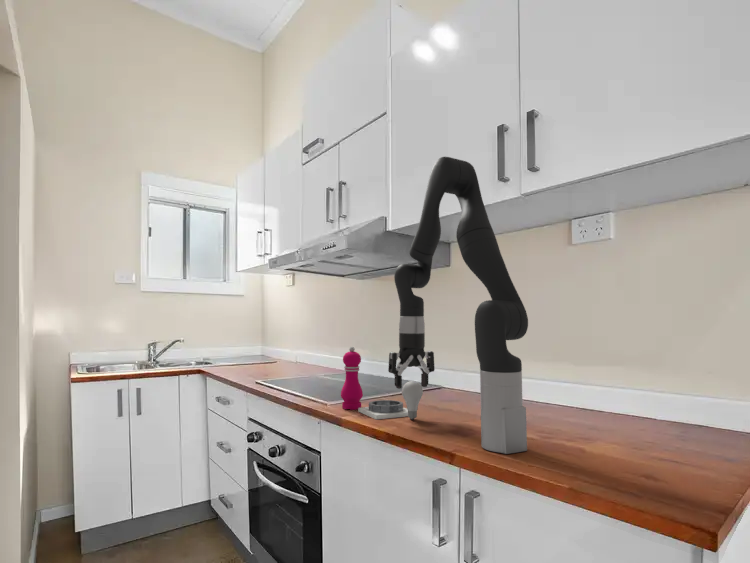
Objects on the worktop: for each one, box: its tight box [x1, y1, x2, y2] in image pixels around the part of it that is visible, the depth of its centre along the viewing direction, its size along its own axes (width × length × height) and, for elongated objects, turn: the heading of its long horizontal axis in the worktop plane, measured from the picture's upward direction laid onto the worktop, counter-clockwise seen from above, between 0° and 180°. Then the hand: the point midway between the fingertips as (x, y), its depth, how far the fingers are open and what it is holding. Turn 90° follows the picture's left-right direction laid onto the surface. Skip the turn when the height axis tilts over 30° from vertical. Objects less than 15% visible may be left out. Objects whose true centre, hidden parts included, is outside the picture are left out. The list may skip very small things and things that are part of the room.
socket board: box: [357, 406, 408, 420], centre depth 143 cm, size 13×13×1 cm
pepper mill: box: [340, 346, 364, 411], centre depth 153 cm, size 7×7×20 cm
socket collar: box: [368, 399, 404, 413], centre depth 143 cm, size 10×10×2 cm
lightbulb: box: [401, 380, 424, 420], centre depth 135 cm, size 6×6×11 cm
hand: (411, 387), depth 136 cm, fingers open, 8 cm apart
